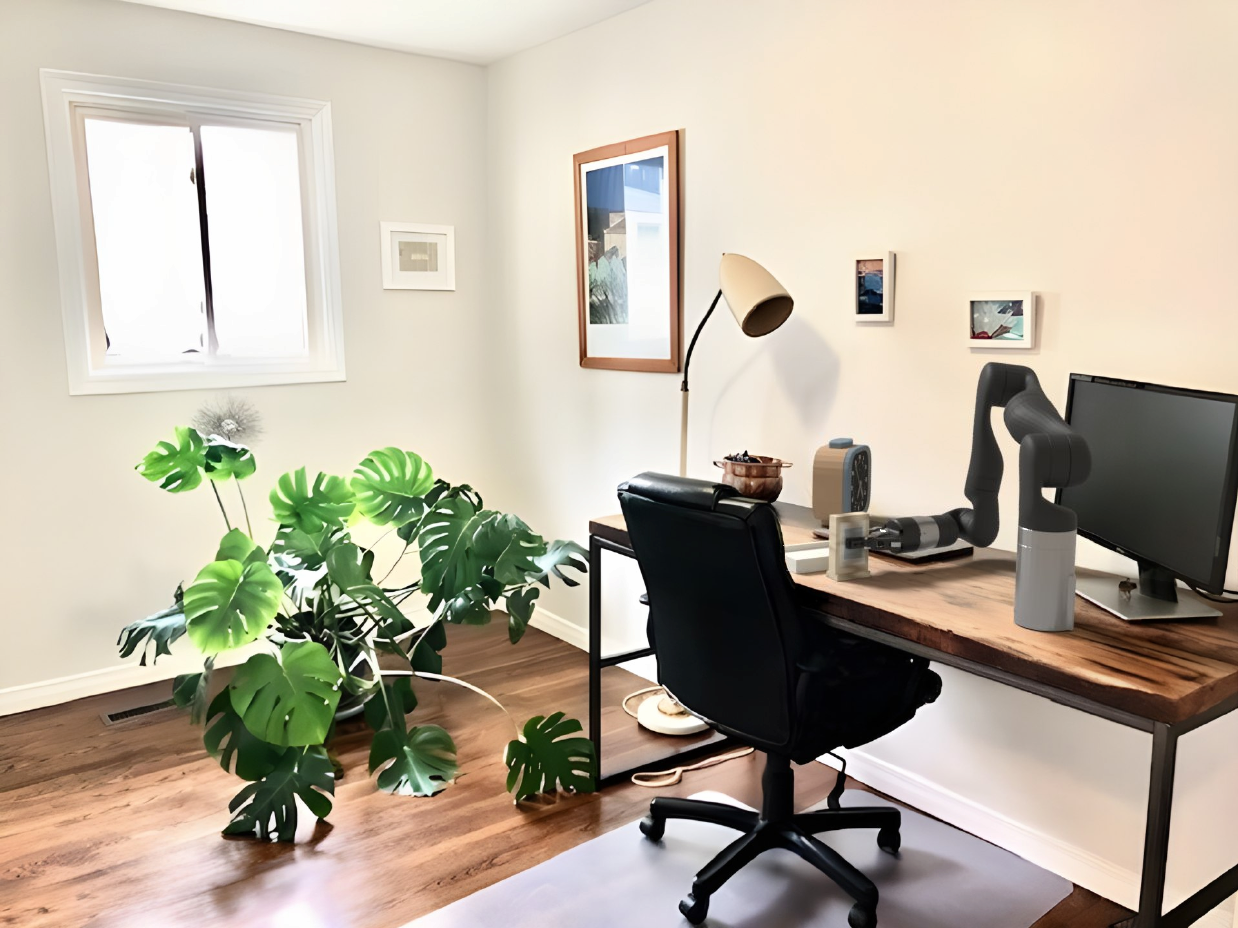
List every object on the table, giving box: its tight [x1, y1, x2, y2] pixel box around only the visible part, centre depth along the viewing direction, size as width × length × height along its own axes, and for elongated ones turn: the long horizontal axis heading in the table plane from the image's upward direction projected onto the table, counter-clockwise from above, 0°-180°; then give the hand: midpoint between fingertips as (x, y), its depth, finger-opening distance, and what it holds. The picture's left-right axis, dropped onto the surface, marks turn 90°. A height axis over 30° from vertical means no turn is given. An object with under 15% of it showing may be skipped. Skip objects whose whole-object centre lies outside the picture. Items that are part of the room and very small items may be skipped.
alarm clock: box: [811, 437, 872, 527], centre depth 250 cm, size 21×10×22 cm, turn 150°
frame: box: [825, 512, 871, 582], centre depth 198 cm, size 8×4×13 cm, turn 111°
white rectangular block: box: [785, 539, 829, 575], centre depth 207 cm, size 14×8×4 cm, turn 111°
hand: (842, 542), depth 197 cm, fingers closed on frame, 3 cm apart
